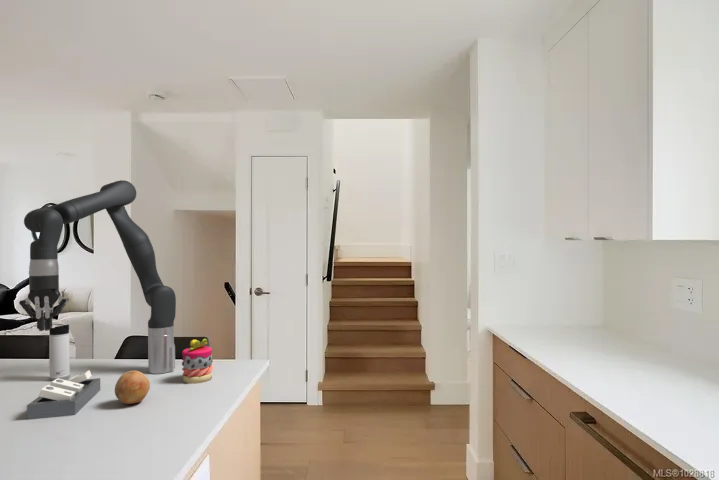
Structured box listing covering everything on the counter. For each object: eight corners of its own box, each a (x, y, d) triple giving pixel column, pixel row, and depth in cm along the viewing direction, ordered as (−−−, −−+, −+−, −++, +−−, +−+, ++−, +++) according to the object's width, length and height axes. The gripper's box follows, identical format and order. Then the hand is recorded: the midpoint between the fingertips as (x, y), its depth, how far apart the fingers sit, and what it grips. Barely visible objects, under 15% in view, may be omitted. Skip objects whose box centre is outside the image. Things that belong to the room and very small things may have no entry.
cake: (175, 382, 163) (175, 340, 163) (196, 374, 173) (196, 334, 173) (199, 385, 159) (198, 341, 159) (219, 376, 169) (218, 336, 169)
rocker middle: (81, 390, 145) (84, 384, 146) (76, 395, 141) (79, 388, 141) (54, 384, 144) (57, 377, 144) (49, 388, 139) (51, 381, 139)
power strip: (107, 382, 164) (107, 371, 164) (75, 414, 132) (74, 400, 132) (70, 385, 161) (69, 374, 161) (27, 419, 129) (27, 405, 129)
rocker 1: (73, 398, 138) (75, 391, 138) (67, 403, 134) (70, 395, 134) (44, 391, 136) (47, 384, 136) (38, 396, 132) (41, 388, 132)
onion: (157, 399, 144) (157, 367, 145) (132, 410, 135) (131, 376, 135) (133, 396, 148) (133, 365, 148) (107, 407, 138) (106, 373, 138)
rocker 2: (91, 375, 153) (89, 369, 153) (87, 379, 149) (84, 373, 148) (66, 385, 151) (63, 380, 151) (61, 389, 147) (58, 383, 146)
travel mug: (60, 381, 166) (60, 326, 167) (45, 380, 168) (44, 326, 168) (74, 376, 173) (74, 323, 173) (59, 376, 174) (59, 323, 174)
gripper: (73, 272, 147) (73, 327, 146) (24, 274, 143) (25, 329, 143) (64, 274, 139) (64, 331, 139) (13, 275, 136) (13, 334, 136)
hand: (44, 330), depth 141 cm, fingers closed
